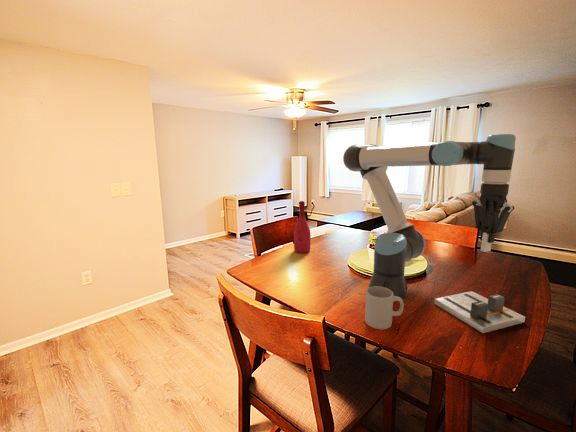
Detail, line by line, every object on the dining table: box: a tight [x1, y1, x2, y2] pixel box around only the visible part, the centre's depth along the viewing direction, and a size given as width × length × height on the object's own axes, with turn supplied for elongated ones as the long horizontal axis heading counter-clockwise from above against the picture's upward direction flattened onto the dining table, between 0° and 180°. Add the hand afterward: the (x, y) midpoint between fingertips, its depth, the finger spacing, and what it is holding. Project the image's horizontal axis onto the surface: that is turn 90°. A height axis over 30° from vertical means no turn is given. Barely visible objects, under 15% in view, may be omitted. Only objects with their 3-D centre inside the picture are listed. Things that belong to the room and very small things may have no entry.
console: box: [433, 291, 526, 334], centre depth 97 cm, size 18×19×7 cm
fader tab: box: [487, 294, 505, 312], centre depth 95 cm, size 4×2×5 cm, turn 107°
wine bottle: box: [293, 200, 311, 254], centre depth 163 cm, size 10×10×30 cm
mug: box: [364, 286, 405, 330], centre depth 92 cm, size 12×8×11 cm
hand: (485, 250), depth 97 cm, fingers closed
